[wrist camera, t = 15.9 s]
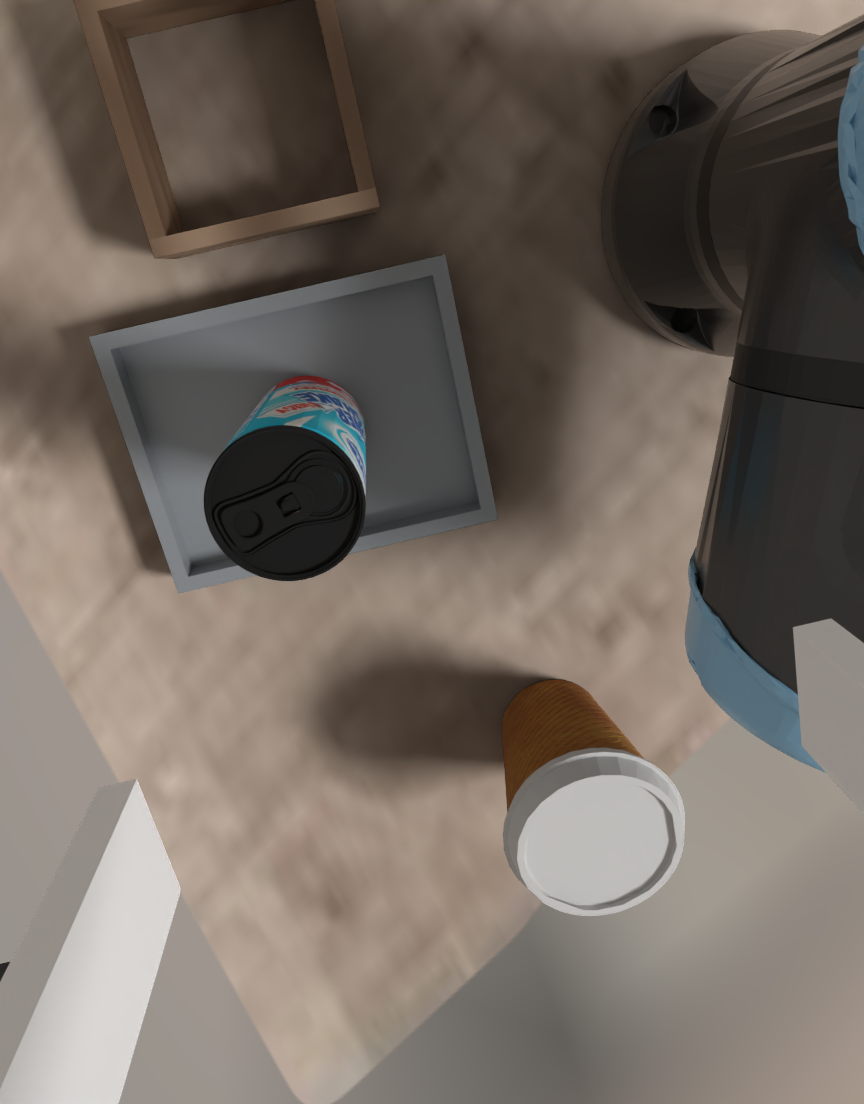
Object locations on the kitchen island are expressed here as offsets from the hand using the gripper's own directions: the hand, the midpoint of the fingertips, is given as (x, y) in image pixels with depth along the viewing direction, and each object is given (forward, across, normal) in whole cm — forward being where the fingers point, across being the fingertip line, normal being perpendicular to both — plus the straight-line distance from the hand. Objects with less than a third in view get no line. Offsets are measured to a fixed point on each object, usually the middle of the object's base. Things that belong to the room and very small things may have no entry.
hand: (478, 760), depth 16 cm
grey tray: (+32, -5, +2) cm, 32 cm away
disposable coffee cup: (+32, +5, -20) cm, 38 cm away
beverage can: (+31, -5, +2) cm, 31 cm away
